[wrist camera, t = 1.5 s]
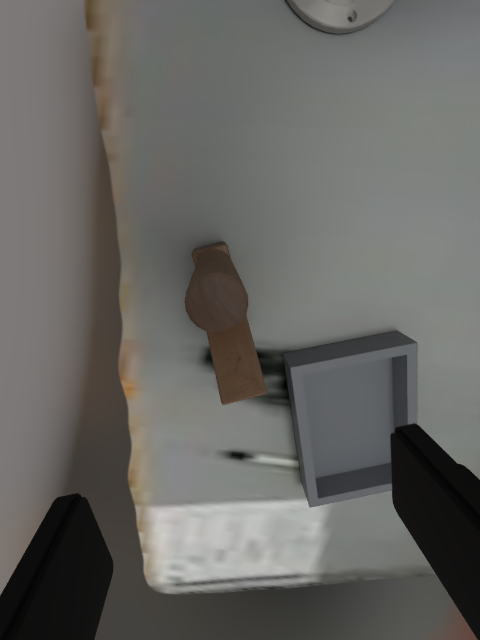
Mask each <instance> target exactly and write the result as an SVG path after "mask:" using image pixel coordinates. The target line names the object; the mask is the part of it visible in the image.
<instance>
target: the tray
mask: <svg viewBox="0 0 480 640" xmlns="http://www.w3.org/2000/svg"><path fill="white" fill-rule="evenodd" d="M283 359H284V366H285V372H286V379H287V386H288V393H289V400H290V407H291V414H292V421H293V428H294V434H295V441H296V448H297V455H298V462H299V469H300V476H301V483H302V486H303V489H304V492H305V495H306V498H307V501H308V504H309V507H315V506H320V505H325V504H329V503H334V502H339V501H344V500H348V499H353V498H358V497H363V496H368V495H372V494H377V493H382V492H387V491H391V490H392V472H391V444H390V435H391V433H395V428H396V427H399V426H404V425H408V424H413V423H415V424H417V342H415V341H414V340H412V339H410V338H409V337H407V336H405V335H404V334H402V333H400V332H399V331H393V332H388V333H383V334H378V335H373V336H368V337H363V338H358V339H353V340H347V341H342V342H337V343H332V344H327V345H322V346H317V347H312V348H307V349H302V350H297V351H292V352H286V353H283Z"/></svg>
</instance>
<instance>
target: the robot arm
mask: <svg viewBox="0 0 480 640" xmlns="http://www.w3.org/2000/svg"><path fill="white" fill-rule="evenodd" d="M287 2H288V3H289V5H290V6H291V8H292V9H293V10H294V11H295V12H296V13H297V14H298V15H299V16H300V17H301V19H302V20H304V21H305V22H307V23H308V24H310V25H311V26H313V27H314V28H317V29H319V30H322V31H325V32H329V33H336V34H342V33H351V32H354V31H357V30H360V29H363V28H365V27H367V26H368V25H370V24H372V23H373V22H375V21H376V20H377V19H379V18H380V17H381V16H382V15H383V14H384V13H385V12H386V11H387V10H388V9H389V8H390V6H391V5H392V4H393V3H394V2H395V0H287ZM348 19H349V20H350V22H349V21H348ZM390 444H391V472H392V499H393V504H394V507H395V509H396V512H397V513H398V515H399V517H400V518H401V520H402V521H403V523H404V524H405V526H406V528H407V529H408V531H409V532H410V534H411V535H412V537H413V539H414V540H415V542H416V543H417V545H418V546H419V548H420V550H421V551H422V553H423V554H424V556H425V557H426V559H427V561H428V562H429V564H430V565H431V567H432V568H433V570H434V572H435V573H436V575H437V576H438V578H439V579H440V581H441V583H442V584H443V586H444V587H445V589H446V590H447V592H448V594H449V595H450V597H451V598H452V600H453V601H454V603H455V604H456V606H457V608H458V609H459V611H460V612H461V614H462V616H463V617H464V619H465V620H466V622H467V623H468V625H469V626H470V628H471V630H472V631H473V633H474V634H475V636H476V638H477V639H478V640H480V480H479V479H478V478H477V477H476V476H475V475H474V474H473V473H472V472H471V471H470V470H469V469H467V468H466V467H465V466H463V465H461V464H457V463H456V462H455V461H454V460H453V459H452V458H451V457H450V456H449V455H448V454H447V453H446V452H445V451H444V450H443V449H442V448H441V447H440V446H439V445H438V444H437V443H436V442H435V441H434V440H433V439H432V438H431V437H430V436H429V435H428V434H427V433H426V432H425V431H424V430H423V429H422V428H421V427H420V426H418V425H417V424H415V423H413V424H408V425H404V426H399V427H396V428H395V433H391V435H390ZM112 574H113V560H112V557H111V555H110V553H109V550H108V548H107V545H106V543H105V541H104V538H103V536H102V533H101V531H100V529H99V526H98V524H97V522H96V519H95V517H94V514H93V512H92V510H91V508H90V505H89V502H88V500H87V499H86V498H85V497H83V498H82V497H81V495H80V494H78V493H76V494H71V495H67V496H62V497H58V498H56V499H55V500H54V502H53V503H52V505H51V507H50V509H49V511H48V512H47V514H46V516H45V518H44V519H43V521H42V523H41V525H40V526H39V528H38V530H37V532H36V533H35V535H34V537H33V539H32V541H31V542H30V545H29V546H28V548H27V549H26V551H25V553H24V555H23V556H22V558H21V560H20V562H19V564H18V565H17V567H16V569H15V571H14V573H13V574H12V576H11V578H10V579H9V582H8V583H7V585H6V587H5V588H4V590H3V592H2V594H1V595H0V640H94V638H95V635H96V631H97V628H98V624H99V621H100V617H101V613H102V610H103V606H104V603H105V599H106V596H107V592H108V589H109V585H110V582H111V578H112Z"/></svg>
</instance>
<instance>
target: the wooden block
mask: <svg viewBox="0 0 480 640" xmlns="http://www.w3.org/2000/svg"><path fill="white" fill-rule="evenodd" d="M192 257H193V261H194V264H195V269H194V272H193V275H192V278H191V281H190V283H189V286H188V289H187V292H186V297H185V307H186V312H187V314H188V316H189V318H190V320H191V321H192V322H193V323H194V324H195V325H196V326H197V327H199V328H201V329H203V330H205V331H207V335H208V340H209V345H210V350H211V354H212V359H213V364H214V369H215V374H216V379H217V384H218V389H219V394H220V399H221V403H222V405H225V404H229V403H233V402H237V401H241V400H245V399H249V398H253V397H256V396H260V395H264V394H266V393H267V389H266V386H265V382H264V378H263V375H262V371H261V368H260V364H259V360H258V357H257V353H256V349H255V346H254V342H253V338H252V335H251V331H250V327H249V324H248V320H247V316H246V312H247V308H248V295H247V292H246V290H245V288H244V285H243V283H242V281H241V279H240V277H239V275H238V273H237V271H236V269H235V267H234V265H233V262H232V260H231V258H230V254H229V250H228V246H227V245H226V243H225V242H220V243H216V244H213V245H209V246H205V247H201V248H197V249H195V250H194V251H193V252H192Z"/></svg>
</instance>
